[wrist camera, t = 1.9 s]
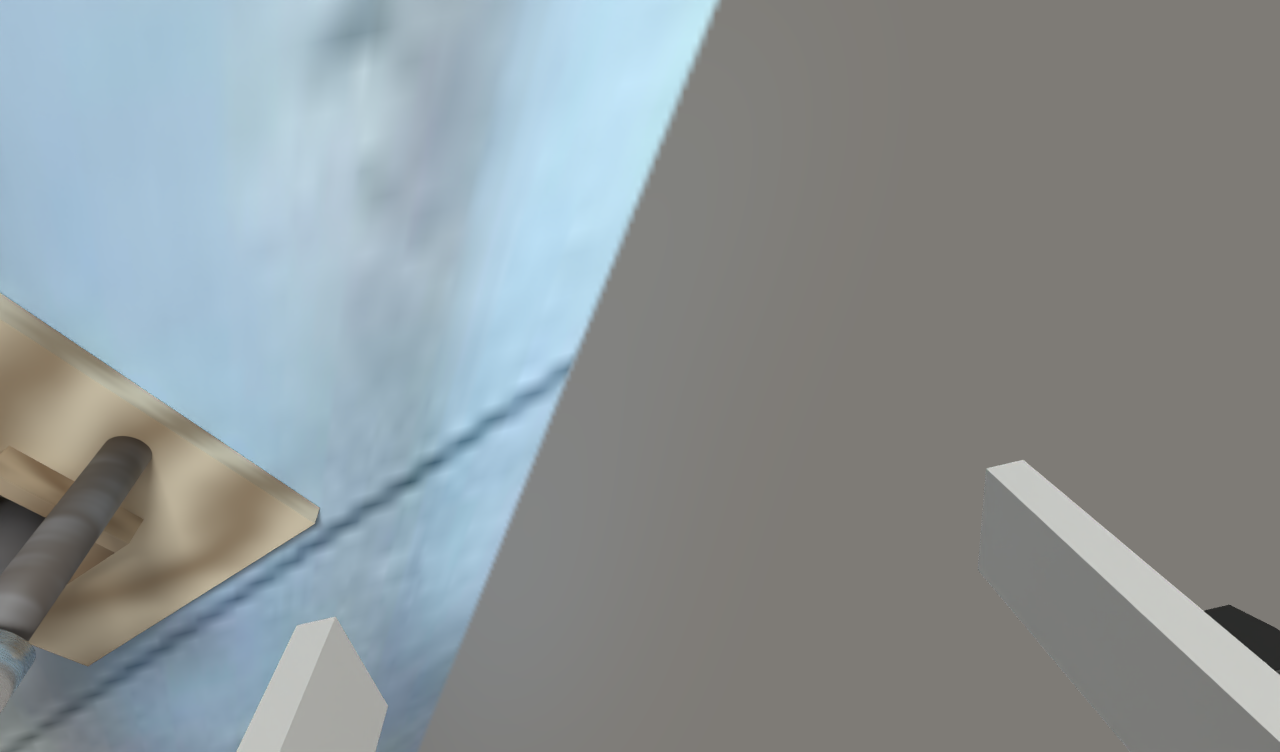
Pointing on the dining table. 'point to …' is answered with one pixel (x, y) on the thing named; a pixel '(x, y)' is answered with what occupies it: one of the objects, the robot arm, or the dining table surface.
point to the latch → (13, 663)
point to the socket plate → (167, 492)
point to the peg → (15, 529)
